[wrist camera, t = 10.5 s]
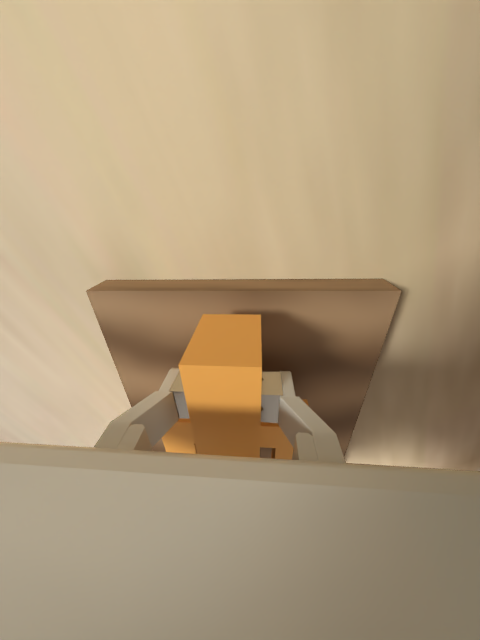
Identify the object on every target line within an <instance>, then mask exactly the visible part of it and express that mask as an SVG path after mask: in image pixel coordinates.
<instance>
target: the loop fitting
mask: <svg viewBox="0 0 480 640" xmlns="http://www.w3.org/2000/svg"><path fill="white" fill-rule="evenodd" d="M178 366H179V370H180V375H181V380H182V385H183V389H184V394H185V399H186V403H187V408H188V413H189V418H190V419H184V418H179V420H178V421H177V422H176V423H175V424H174V425H173V426H172V427H171V428H170V429H169V430H168V431H167V432H166V434H165V435H164V436H163V437H162V441H163V444H164V447H165V450H166V452H174V453H190V454H206V455H222V456H238V457H255V458H260V447H264V448H272V451H271V458H272V459H288V460H292V456H293V449H294V448H293V446H292V445H291V443H290V442H289V440H288V439H287V437H286V436H285V434H284V433H283V431H282V430H281V428H280V427H279V425H278V423H269V422H261V386H262V344H261V315H250V314H203V315H202V317H201V319H200V321H199V323H198V325H197V327H196V330H195V332H194V334H193V336H192V338H191V340H190V342H189V344H188V346H187V348H186V350H185V352H184V354H183V356H182V358H181V361H180V363H179V365H178ZM302 400H303V401H304V402H305V403H306V404H307V405H308V401H307V400H306V399H302ZM308 406H309V405H308Z"/></svg>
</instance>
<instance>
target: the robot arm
mask: <svg viewBox="0 0 480 640" xmlns="http://www.w3.org/2000/svg"><path fill="white" fill-rule="evenodd" d="M179 418H184V419H190V418H189V413H188V408H187V403H186V399H185V394H184V389H183V385H182V380H181V375H180V370H179V368H171V369H170V370H169V372H168V374H167V376H166V378H165V379H164V381H163V383H162V385H161V387H160V389H159V391H155V392H153V393H152V394H151V395H149V396H148V397H146V398H145V399H143V400H142V401H140V402H139V403H137V404H136V405H135V406H133V407H132V408H130V409H129V410H127V411H126V412H124V413H123V414H121V415H120V416H119V417H117V418H116V419H114V420H113V421H111V422H110V424H109V425H108V427H107V428H106V430H105V431H104V433H103V434H102V436H101V437H100V439H99V440H98V442H97V443H96V445H95V446H94V448H92V447H76V446H59V445H43V444H27V443H10V442H0V640H480V471H467V470H451V469H435V468H418V467H402V466H386V465H370V464H353V463H346V462H345V459H344V456H343V453H342V450H341V447H340V444H339V441H338V438H337V435H336V433H335V432H334V431H333V430H332V429H331V428H330V427H329V426H328V425H327V424H326V423H325V422H324V421H323V420H322V419H321V418H320V417H319V416H318V415H317V414H316V413H315V412H314V411H313V410H312V409H311V408H310V407H309V406H308V405H307V404H306V403H305V402H304V401H303V400H302V399H301V398H300V397H297V396H296V395H295V390H294V385H293V380H292V374H291V372H290V371H262V386H261V422H269V423H278V425H279V427H280V428H281V430H282V431H283V433H284V434H285V436H286V437H287V439H288V440H289V442H290V443H291V445H292V446H293V448H294V449H293V456H292V460H288V459H272V458H255V457H238V456H222V455H206V454H190V453H174V452H157V451H153V449H152V447H153V446H154V445H155V444H156V443H157V442H158V441H159V440H160V439H161V438H162V437H163V436H164V435H165V434H166V432H167V431H168V430H169V429H170V428H171V427H172V426H173V425H174V424H175V423H176V422H177V421H178V420H179Z"/></svg>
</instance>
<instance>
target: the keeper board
mask: <svg viewBox="0 0 480 640" xmlns="http://www.w3.org/2000/svg"><path fill="white" fill-rule="evenodd" d="M86 292H87V295H88V297H89V300H90V302H91V305H92V307H93V310H94V312H95V315H96V317H97V320H98V323H99V325H100V328H101V330H102V333H103V335H104V338H105V340H106V343H107V346H108V348H109V351H110V353H111V356H112V358H113V361H114V363H115V366H116V368H117V371H118V374H119V376H120V379H121V381H122V384H123V386H124V389H125V391H126V394H127V396H128V399H129V402H130V404H131V407H133V406H135V405H136V404H137V403H139V402H140V401H142V400H143V399H145V398H146V397H148V396H149V395H151V394H152V393H153V392H155V391H159V389H160V387H161V385H162V383H163V381H164V379H165V378H166V376H167V374H168V372H169V370H170V369H171V368H179V366H178V365H179V363H180V361H181V358H182V356H183V354H184V352H185V350H186V348H187V346H188V344H189V342H190V340H191V338H192V336H193V334H194V332H195V330H196V327H197V325H198V323H199V321H200V319H201V317H202V315H203V314H250V315H261V344H262V371H290V372H291V374H292V380H293V385H294V390H295V395H296V396H297V397H300V398H301V399H306V400H307V401H308V405H309V407H310V408H311V409H312V410H313V411H314V412H315V413H316V414H317V415H318V416H319V417H320V418H321V419H322V420H323V421H324V422H325V423H326V424H327V425H328V426H329V427H330V428H331V429H332V430H333V431H334V432H335V433H336V435H337V438H338V441H339V444H340V447H341V450H342V453H343V456H345V453H346V450H347V447H348V444H349V441H350V438H351V435H352V432H353V430H354V427H355V424H356V421H357V418H358V415H359V412H360V409H361V407H362V404H363V401H364V398H365V395H366V392H367V389H368V386H369V384H370V381H371V378H372V375H373V372H374V369H375V366H376V363H377V361H378V358H379V355H380V352H381V349H382V346H383V343H384V340H385V338H386V335H387V332H388V329H389V326H390V323H391V320H392V317H393V315H394V312H395V309H396V306H397V303H398V300H399V297H400V294H401V292H402V291H401V290H400V289H398V288H397V287H395V286H393V285H392V284H390V283H389V282H387V281H386V280H384V279H250V280H106V281H104V282H102V283H100V284H98V285H96V286H94V287H92V288H91V289H89V290H87V291H86ZM152 449H153V451H157V452H166V450H165V447H164V444H163V441H162V438H161V439H160V440H159V441H158V442H157V443H156V444H155V445H154V446H153V447H152ZM271 451H272V448H264V447H260V458H271Z"/></svg>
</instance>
